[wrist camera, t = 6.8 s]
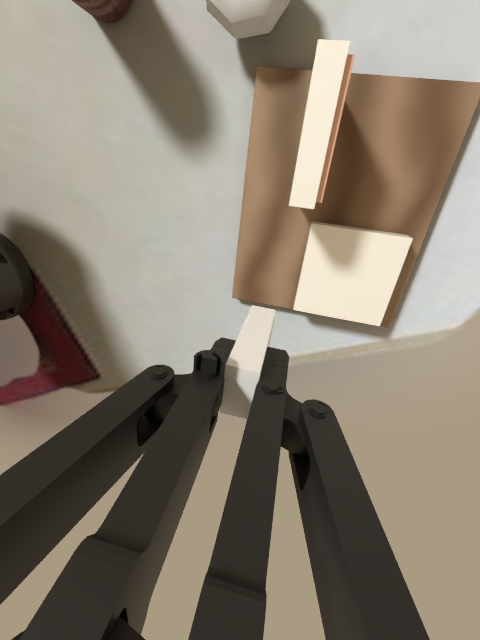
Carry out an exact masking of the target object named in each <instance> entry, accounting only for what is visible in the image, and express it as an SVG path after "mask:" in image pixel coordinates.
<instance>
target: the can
mask: <svg viewBox="0 0 480 640" xmlns="http://www.w3.org/2000/svg"><path fill="white" fill-rule="evenodd" d="M72 1H73V2H75V3H76V4H77V5H79V6H80V7H81V8H83V9H84V10H85V11H87V12H88V13H89V14H91V15H92V16H93V17H95V18H96V19H98V20H100V21H103V22H114V21H116V20H117V19H119V18H121V17H122V16H123V15H124V14H125V12H126V11H127V10H128V8H129V5H130V2H131V0H72Z"/></svg>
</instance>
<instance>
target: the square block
mask: <svg viewBox="0 0 480 640" xmlns="http://www.w3.org/2000/svg"><path fill="white" fill-rule="evenodd" d="M412 240H413V238H412V237H410V236H408V235H404V234H397V233H390V232H384V231H377V230H370V229H363V228H356V227H349V226H342V225H335V224H329V223H322V222H315V221H312V222H311V226H310V231H309V236H308V240H307V245H306V250H305V254H304V259H303V264H302V268H301V273H300V278H299V282H298V287H297V292H296V296H295V301H294V307H293V310H296V311H302V312H307V313H312V314H317V315H323V316H328V317H333V318H339V319H344V320H349V321H354V322H360V323H365V324H370V325H376V326H380V324H381V322H382V319H383V317H384V314H385V311H386V309H387V306H388V303H389V301H390V298H391V295H392V293H393V290H394V287H395V285H396V282H397V279H398V277H399V274H400V271H401V269H402V266H403V263H404V261H405V258H406V255H407V253H408V250H409V248H410V245H411V242H412Z"/></svg>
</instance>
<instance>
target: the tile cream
mask: <svg viewBox="0 0 480 640" xmlns="http://www.w3.org/2000/svg"><path fill="white" fill-rule="evenodd" d="M349 44H350V41H340V40H323V39H318V42H317V48H316V54H315V59H314V65H313V71H312V77H311V82H310V88H309V94H308V99H307V105H306V111H305V116H304V122H303V128H302V133H301V139H300V145H299V150H298V156H297V162H296V167H295V173H294V179H293V184H292V190H291V196H290V201H289V206H294V207H301V208H308V209H314V207H315V203H316V202H319V203H322V200H323V195H324V191H325V186H326V182H327V178H328V173H329V169H330V164H331V160H332V155H333V151H334V146H335V142H336V137H337V133H338V128H339V124H340V119H341V115H342V111H343V106H344V102H345V97H346V93H347V88H348V84H349V79H350V75H351V70H352V66H353V61H354V57H355V55H348V49H349Z"/></svg>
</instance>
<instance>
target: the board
mask: <svg viewBox="0 0 480 640" xmlns="http://www.w3.org/2000/svg"><path fill="white" fill-rule="evenodd" d="M312 71H313V70H301V69H287V68H274V67H260V66H257V71H256V80H255V90H254V99H253V108H252V117H251V127H250V136H249V145H248V155H247V164H246V173H245V183H244V192H243V201H242V211H241V220H240V229H239V238H238V248H237V257H236V266H235V276H234V285H233V294H232V298H236V299H241V300H247V301H252V302H257V303H262V304H268V305H273V306H278V307H284V308H289V309H293V307H294V301H295V296H296V292H297V287H298V282H299V278H300V273H301V268H302V264H303V259H304V254H305V250H306V245H307V240H308V236H309V231H310V226H311V222H312V221H315V222H322V223H329V224H335V225H342V226H349V227H356V228H363V229H370V230H377V231H384V232H390V233H397V234H404V235H408V236H410V237H412V238H413V240H412V242H411V245H410V248H409V250H408V253H407V255H406V258H405V261H404V263H403V266H402V269H401V271H400V274H399V277H398V279H397V282H396V285H395V287H394V290H393V293H392V295H391V298H390V301H389V303H388V306H387V309H386V311H385V314H384V317H383V319H382V322H381V324H380V326H384V327H390V324H391V322H392V319H393V317H394V314H395V312H396V309H397V307H398V304H399V301H400V299H401V296H402V294H403V291H404V289H405V286H406V284H407V281H408V279H409V276H410V274H411V271H412V269H413V266H414V263H415V261H416V258H417V256H418V253H419V251H420V248H421V246H422V243H423V241H424V238H425V236H426V233H427V230H428V228H429V225H430V223H431V220H432V218H433V215H434V213H435V210H436V208H437V205H438V203H439V200H440V198H441V195H442V192H443V190H444V187H445V185H446V182H447V180H448V177H449V175H450V172H451V170H452V167H453V165H454V162H455V159H456V157H457V154H458V152H459V149H460V147H461V144H462V142H463V139H464V137H465V134H466V132H467V129H468V127H469V124H470V121H471V119H472V116H473V114H474V111H475V109H476V106H477V104H478V101H479V99H480V83H478V82H464V81H450V80H437V79H423V78H410V77H396V76H382V75H369V74H355V73H351V75H350V79H349V84H348V88H347V93H346V97H345V102H344V106H343V111H342V115H341V119H340V124H339V128H338V133H337V137H336V142H335V146H334V151H333V155H332V160H331V164H330V169H329V173H328V178H327V182H326V186H325V191H324V195H323V200H322V203H319V202H316V203H315V207H314V209H308V208H301V207H294V206H289V201H290V196H291V190H292V184H293V179H294V173H295V167H296V162H297V156H298V150H299V145H300V139H301V133H302V128H303V122H304V116H305V111H306V105H307V99H308V94H309V88H310V82H311V77H312Z"/></svg>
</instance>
